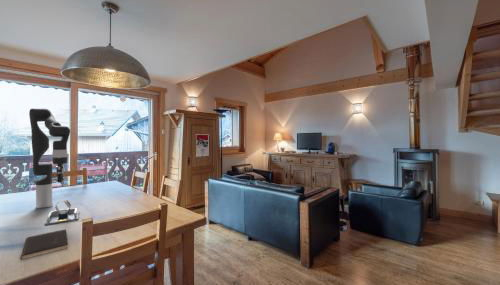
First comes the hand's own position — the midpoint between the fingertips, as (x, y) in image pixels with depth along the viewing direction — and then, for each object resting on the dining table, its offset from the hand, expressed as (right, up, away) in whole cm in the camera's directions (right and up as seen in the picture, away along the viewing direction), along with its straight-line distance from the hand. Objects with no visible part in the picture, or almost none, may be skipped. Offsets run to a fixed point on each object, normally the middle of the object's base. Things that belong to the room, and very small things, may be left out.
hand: (60, 180), depth 147 cm
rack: (+2, -25, -1) cm, 25 cm away
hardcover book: (+23, -26, -35) cm, 50 cm away
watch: (+3, -24, -1) cm, 24 cm away
